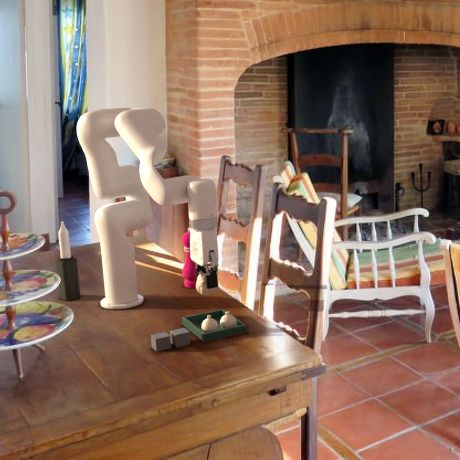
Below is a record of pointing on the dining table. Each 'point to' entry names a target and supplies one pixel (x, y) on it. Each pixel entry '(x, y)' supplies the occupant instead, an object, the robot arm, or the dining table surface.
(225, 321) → the white bulb
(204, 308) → the dining table surface
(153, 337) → the grey block
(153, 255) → the dining table surface
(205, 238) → the robot arm
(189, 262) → the pepper mill
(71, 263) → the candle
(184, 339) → the grey block
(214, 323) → the white bulb
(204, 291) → the garlic bulb
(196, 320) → the green tray
